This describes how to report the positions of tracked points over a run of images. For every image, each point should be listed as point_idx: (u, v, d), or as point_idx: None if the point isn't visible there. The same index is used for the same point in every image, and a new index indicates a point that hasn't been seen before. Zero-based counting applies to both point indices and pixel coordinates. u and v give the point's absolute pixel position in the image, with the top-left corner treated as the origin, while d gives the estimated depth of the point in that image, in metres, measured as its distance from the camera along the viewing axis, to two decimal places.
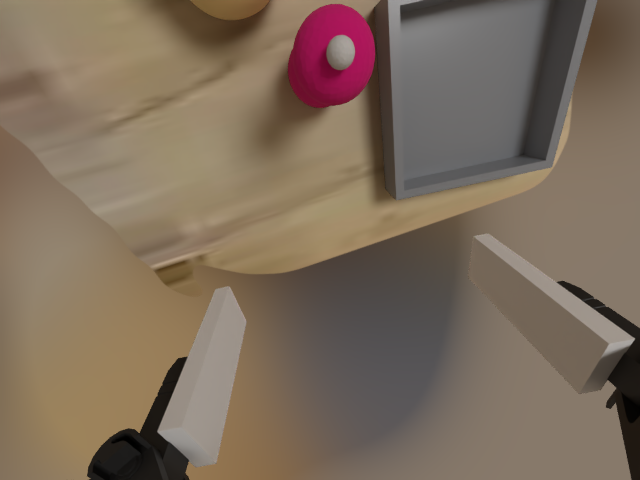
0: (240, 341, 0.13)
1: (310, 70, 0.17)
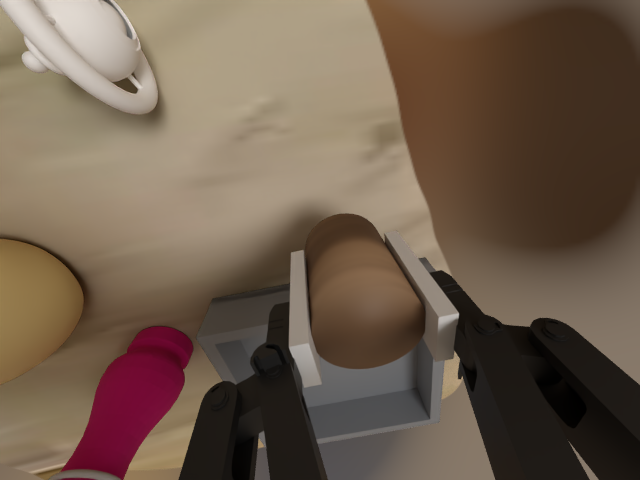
0: None
1: None
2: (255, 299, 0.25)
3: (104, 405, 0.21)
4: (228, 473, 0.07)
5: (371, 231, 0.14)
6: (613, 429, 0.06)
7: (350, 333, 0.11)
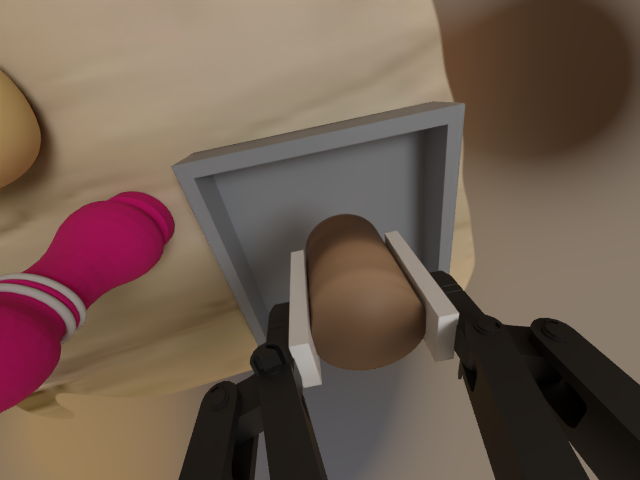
0: None
1: None
2: (242, 144, 0.22)
3: (63, 237, 0.18)
4: (229, 473, 0.07)
5: (371, 232, 0.14)
6: (613, 429, 0.06)
7: (350, 334, 0.11)
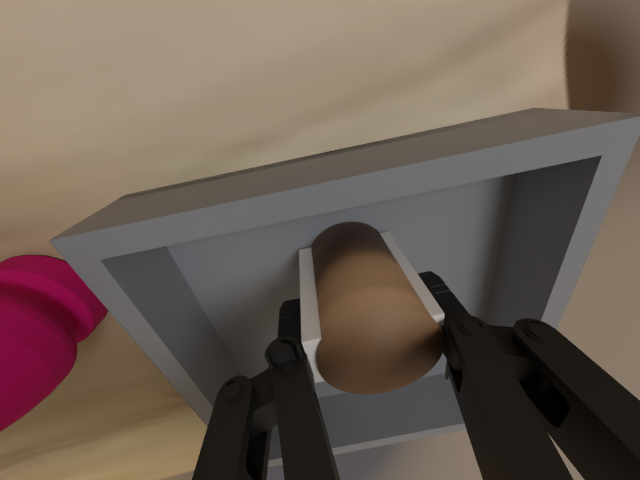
0: None
1: None
2: (204, 184, 0.13)
3: None
4: (243, 467, 0.07)
5: (379, 241, 0.13)
6: (595, 428, 0.06)
7: (360, 358, 0.10)
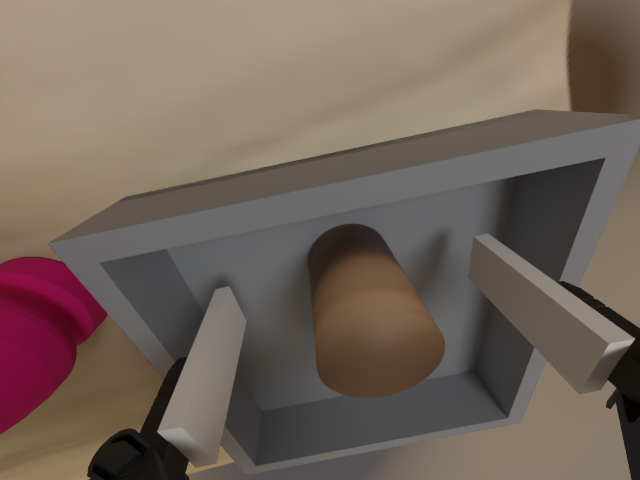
0: (240, 341, 0.13)
1: None
2: (204, 186, 0.13)
3: None
4: None
5: (380, 244, 0.13)
6: None
7: (360, 362, 0.10)
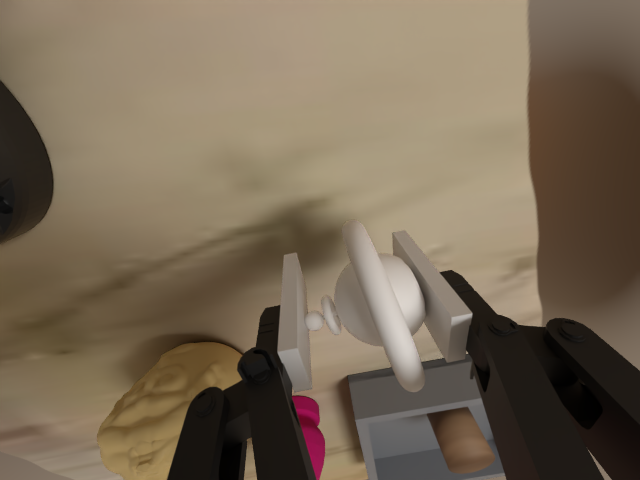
0: (306, 301, 0.15)
1: None
2: (389, 379, 0.30)
3: None
4: None
5: None
6: (630, 431, 0.06)
7: (464, 463, 0.27)
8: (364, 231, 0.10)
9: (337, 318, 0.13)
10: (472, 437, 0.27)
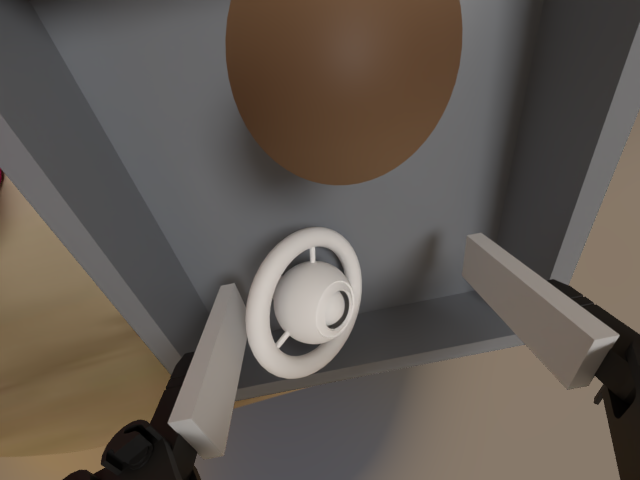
0: (245, 337, 0.13)
1: None
2: None
3: None
4: None
5: None
6: None
7: (307, 68, 0.05)
8: (287, 248, 0.12)
9: None
10: None
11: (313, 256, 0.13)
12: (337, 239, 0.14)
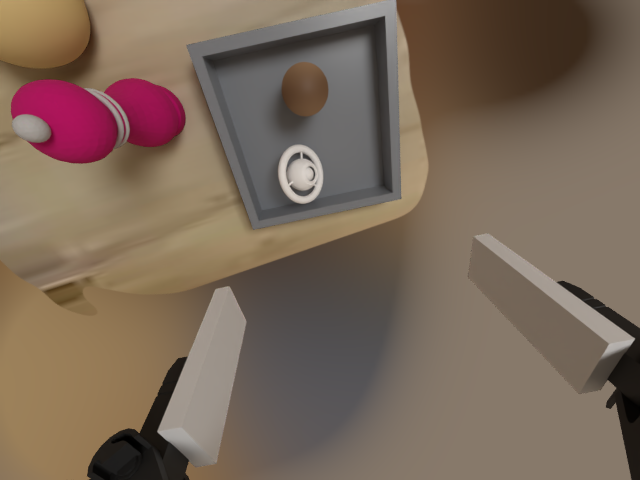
0: (240, 341, 0.13)
1: None
2: None
3: (110, 90, 0.26)
4: None
5: None
6: None
7: (297, 89, 0.27)
8: (292, 148, 0.33)
9: None
10: None
11: (301, 156, 0.35)
12: (311, 151, 0.35)
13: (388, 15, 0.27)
